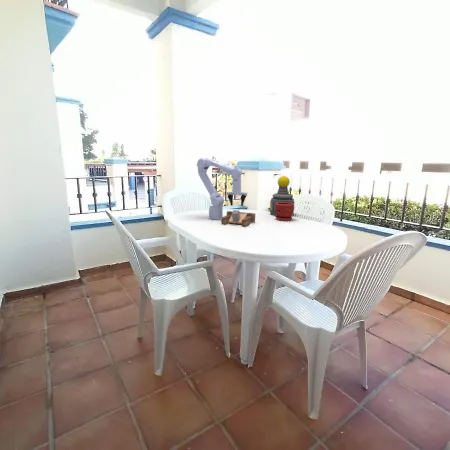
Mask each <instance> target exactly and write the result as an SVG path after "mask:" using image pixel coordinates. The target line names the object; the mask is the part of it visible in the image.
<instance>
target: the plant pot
mask: <svg viewBox="0 0 450 450" xmlns="http://www.w3.org/2000/svg"><path fill="white" fill-rule="evenodd" d="M286 208H287V210H286ZM283 209H284V210H283ZM275 210H276V214H277V216H275V219H276V220H278V221H282V222H285V221H286V222H288V221H291V220H292V219H293V217H292V216H293V215H294V213H293V211H294V212H295V203H294V204H293V203H284V202H279V203H276V206H275ZM289 210H290V211H289ZM292 214H293V215H292Z"/></svg>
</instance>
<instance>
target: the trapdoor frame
mask: <svg viewBox="0 0 450 450" xmlns="http://www.w3.org/2000/svg"><path fill="white" fill-rule="evenodd" d="M232 212H233V210H232V211H231V210H227V211H226V215H224V216H222V219H221V225H225V226H226V225H228V224H230V223H229V222H228V221H229V219H230V217H231V215H232ZM239 212H240V213H244V214H247V216H246V217H245V218H244V219H242V224H241V227H243V228H244V227H246V228H247V227H248V226H249V225H251V224H252V223H253V224H255V223H256V213H255V212H254V213H253V212H245V211H242V212H241V211H239Z"/></svg>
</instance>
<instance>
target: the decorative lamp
mask: <svg viewBox="0 0 450 450" xmlns="http://www.w3.org/2000/svg"><path fill="white" fill-rule="evenodd" d="M290 183H291V182H290V179H289V177H288V176H286V175H281V176H279V178H278V179H277V185H278V189H277V192H276V193H273V194H272V197H271V198H270V199H271V200H270V201H269V213H270V215H271V216H274V217H276V216H277V214H276V210H275V206H276V203H279V202H284V203H293V204H294V205H295V199H294V195H293V194H292V193H289V189H288V187H289V185H290ZM283 210H284V209H283ZM286 210H287V208H286ZM289 211H290V210H289ZM294 212H295V210H294V211H293V214H292V216H293V215H294Z"/></svg>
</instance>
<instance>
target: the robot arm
mask: <svg viewBox="0 0 450 450" xmlns="http://www.w3.org/2000/svg"><path fill="white" fill-rule="evenodd" d="M196 167H197V174H198V176H199V178H200V180H201V182H202V183H203V185H204V187H205V188H206V190H207V192H208V194H209V199H210V204H211V205H210V206H209V208H208V219H209V220H218V221H222V217H223V213H224V212H223V209H224V208H223V204H224V203H225V199H224V197H223V196H221V194H220V193H218V191H217V190H216V188H215V186H214V184H213V182H212V181H211V179H210V176H209V175H208V173H207V172H208V169H209V168H210V167H215V168H217V169H220V170H222V172H223V173H225V174H228V175H230V176H232V191H226V196H227V198H228V200H229V203H230V206H233V203H234V202H233V200H234V199H233V198H234V196H237V195H238V196H240V206H241V207H244V203H245V199H246V198H247V196H248V192H242V174H243V170H242V169H241V168H240V167H237V166H234V165H233V166H232V165H230V163H225V164H223V163H220V162H218V161H215V160H213V159H209V158H199V159H198V160H197V162H196Z"/></svg>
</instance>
